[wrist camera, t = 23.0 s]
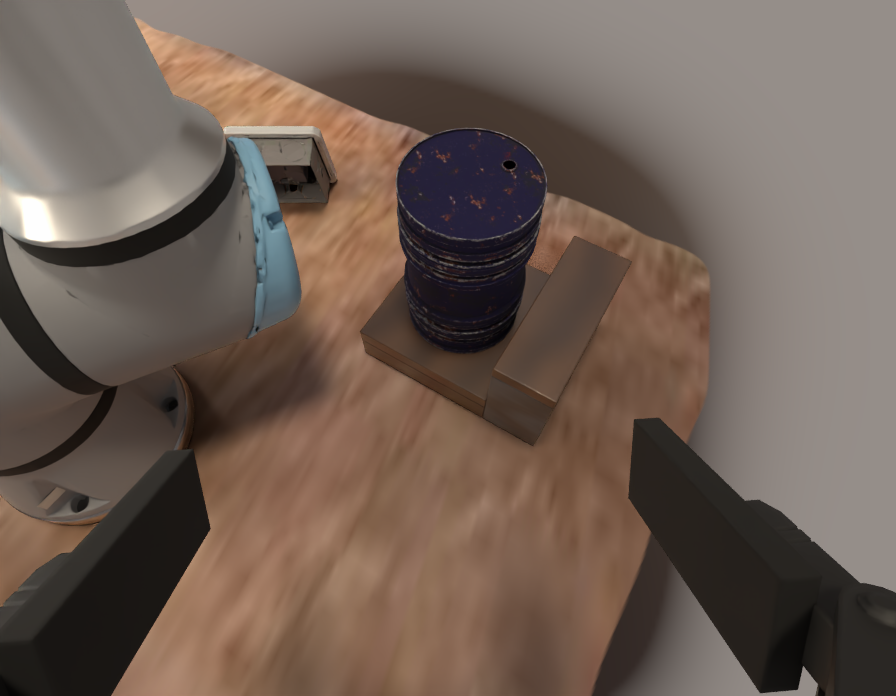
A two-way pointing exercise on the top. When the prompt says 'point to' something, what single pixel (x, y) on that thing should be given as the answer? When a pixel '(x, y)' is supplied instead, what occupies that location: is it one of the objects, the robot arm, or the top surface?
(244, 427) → the top surface
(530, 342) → the l-shaped metal base
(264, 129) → the electrical switch
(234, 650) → the top surface
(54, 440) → the robot arm
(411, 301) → the blue oil drum
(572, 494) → the top surface
